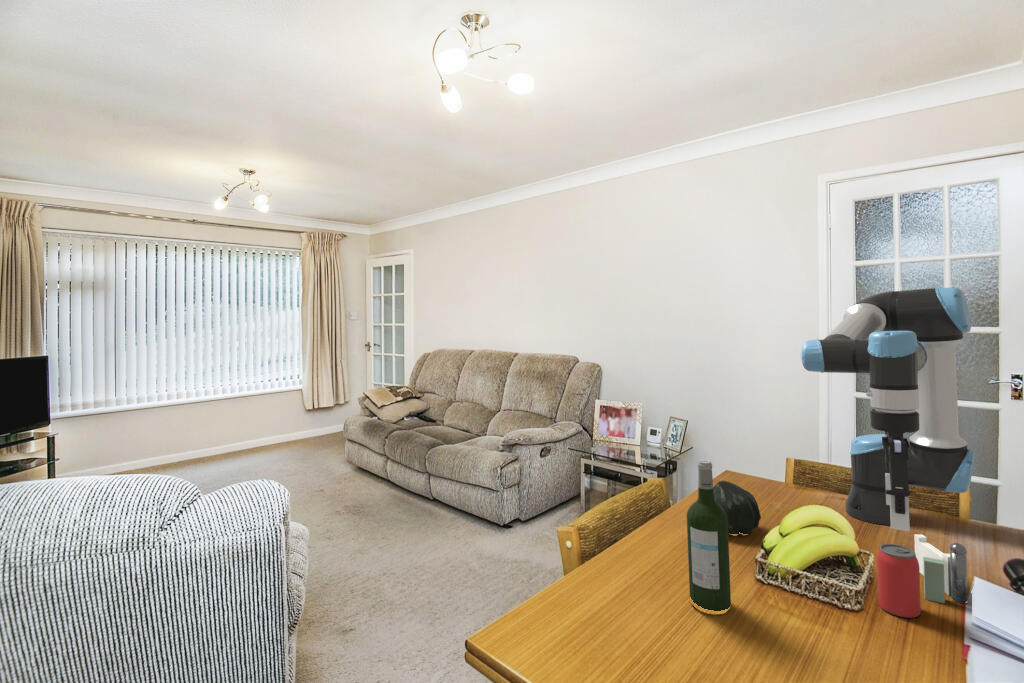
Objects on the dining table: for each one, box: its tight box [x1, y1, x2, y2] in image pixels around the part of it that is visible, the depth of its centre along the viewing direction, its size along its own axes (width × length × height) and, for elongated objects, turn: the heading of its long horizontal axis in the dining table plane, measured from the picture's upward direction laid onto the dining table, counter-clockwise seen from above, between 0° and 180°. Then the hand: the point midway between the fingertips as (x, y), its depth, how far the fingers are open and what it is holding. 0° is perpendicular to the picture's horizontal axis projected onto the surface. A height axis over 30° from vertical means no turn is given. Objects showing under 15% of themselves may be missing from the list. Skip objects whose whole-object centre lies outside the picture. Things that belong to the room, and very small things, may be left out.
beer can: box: [876, 543, 922, 619], centre depth 96 cm, size 7×7×12 cm
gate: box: [913, 533, 951, 596], centre depth 105 cm, size 11×2×8 cm, turn 169°
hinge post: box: [949, 542, 968, 605], centre depth 98 cm, size 3×3×12 cm
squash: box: [713, 480, 762, 535], centre depth 135 cm, size 14×15×15 cm
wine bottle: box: [686, 459, 732, 611], centre depth 100 cm, size 8×8×30 cm
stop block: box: [923, 557, 946, 604], centre depth 99 cm, size 2×3×8 cm, turn 54°
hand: (897, 516), depth 96 cm, fingers open, 13 cm apart
